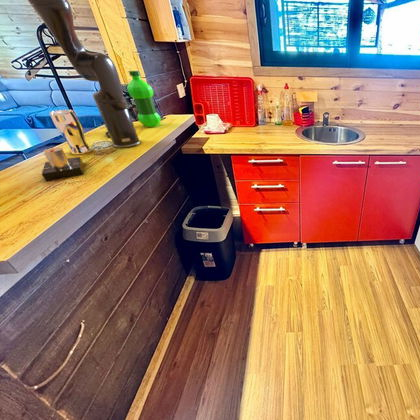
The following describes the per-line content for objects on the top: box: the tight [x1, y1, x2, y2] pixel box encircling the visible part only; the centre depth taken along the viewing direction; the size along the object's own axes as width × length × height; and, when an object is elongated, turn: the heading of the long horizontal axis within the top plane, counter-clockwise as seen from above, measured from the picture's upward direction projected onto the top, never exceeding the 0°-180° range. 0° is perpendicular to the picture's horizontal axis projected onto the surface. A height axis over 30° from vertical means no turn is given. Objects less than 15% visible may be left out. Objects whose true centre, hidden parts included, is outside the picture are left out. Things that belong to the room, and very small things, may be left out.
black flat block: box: [41, 156, 84, 182], centre depth 84 cm, size 11×9×3 cm
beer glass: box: [49, 109, 92, 155], centre depth 96 cm, size 7×7×15 cm
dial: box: [42, 147, 71, 169], centre depth 81 cm, size 4×4×6 cm
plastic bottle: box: [126, 70, 162, 128], centre depth 125 cm, size 10×10×25 cm
